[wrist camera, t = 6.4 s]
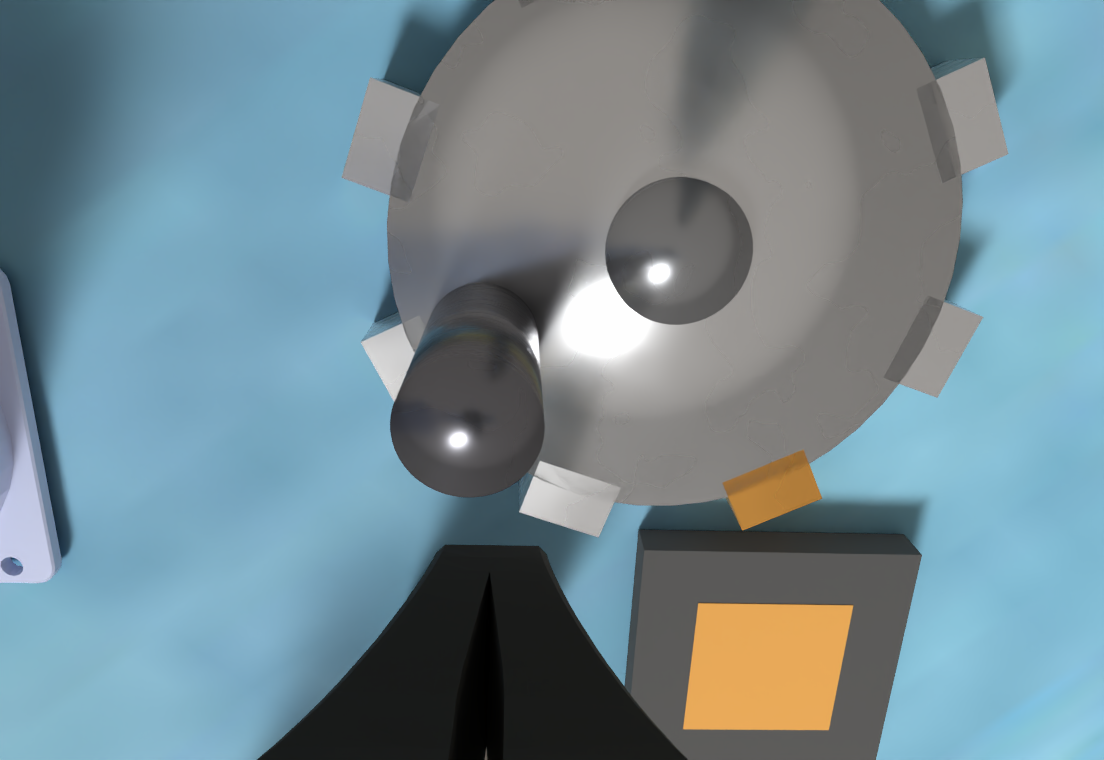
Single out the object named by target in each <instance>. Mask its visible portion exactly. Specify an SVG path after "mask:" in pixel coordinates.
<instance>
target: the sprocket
mask: <svg viewBox="0 0 1104 760" xmlns="http://www.w3.org/2000/svg"><path fill="white" fill-rule="evenodd" d="M1007 154H1008V151H1007V147H1006V143H1005V138H1004V134H1003V130H1002V126H1001V122H1000V118H999V114H998V110H997V105H996V101H995V97H994V93H993V89H992V85H991V81H990V77H989V72H988V68H987V64H986V60H985V58H973V59H962V60H950V61H945V62H943V63H941V64H938V65H936V66H934V67H932V68H930V67H929V65H928V63H927V61H926V59H925V57H924V55H923V54H922V52H921V51H920V49H919V48H918V46H917V45H916V44H915V42H914V41H913V39H912V38H911V37H910V35H909V34H908V32H907V31H906V29H905V28H904V27H903V25H902V24H901V22H900V21H899V20H898V19H897V18H896V17H895V16H894V15H893V14H892V13H891V12H890V11H889V10H888V9H887V8H886V7H885V6H884V5H883V4H882V3H881V1H880V0H495V1H493V2H492V3H491V4H490V5H488V6H487V7H486V8H485V9H484V11H483V12H482V13H481V14H480V15H479V16H478V17H477V18H476V19H475V20H474V21H473V22H472V23H471V24H470V25H469V26H468V27H467V28H466V29H465V30H464V31H463V33H462V34H461V35H460V36H459V37H458V38H457V40H456V41H455V42H454V44H453V45H452V46H451V48H450V49H449V51H448V52H447V53H446V55H445V56H444V58H443V59H442V60H441V62H440V63H439V64H438V66H437V67H436V69H435V70H434V72H433V73H432V75H431V77H430V79H429V81H428V83H427V85H426V86H425V88H424V90H423V92H422V94H420V93H417V92H414V91H412V90H409V89H407V88H404V87H402V86H399V85H397V84H394V83H391V82H389V81H386V80H384V79H378V78H370V80H369V83H368V87H367V90H366V94H365V97H364V101H363V104H362V108H361V112H360V115H359V119H358V122H357V126H356V129H355V133H354V136H353V140H352V143H351V147H350V150H349V154H348V157H347V161H346V164H345V168H344V171H343V175H342V178H344V179H347V180H349V181H352V182H355V183H358V184H360V185H363V186H366V187H368V188H371V189H374V190H377V191H379V192H382V193H385V194H387V195H390V198H389V208H388V218H387V237H388V262H389V268H390V274H391V280H392V286H393V292H394V298H395V301H396V305H397V308H398V311H399V312H397V313H395V314H393V315H391V316H388V317H386V318H384V319H382V320H380V321H378V322H375V323H373V324H372V326H371V327H370V329H369V331H368V332H367V334H366V335H365V337H364V338H363V340H362V341H361V343H362V345H363V347H364V349H365V351H366V352H367V354H368V356H369V358H370V359H371V361H372V363H373V365H374V367H375V368H376V370H377V372H378V374H379V376H380V377H381V379H382V381H383V383H384V384H385V386H386V388H387V390H388V392H389V393H390V395H391V397H392V399H393V400H394V404H393V408H392V412H391V420H390V431H391V437H392V442H393V445H394V448H395V451H396V453H397V455H398V457H399V459H400V460H401V462H402V463H403V465H404V466H405V468H406V469H407V470H408V471H409V472H410V473H411V474H412V475H413V476H414V477H415V478H416V479H417V480H419V481H420V482H422V483H423V484H425V485H426V486H428V487H430V488H432V489H434V490H436V491H438V492H441V493H444V494H448V495H452V496H458V497H480V496H486V495H490V494H494V493H497V492H499V491H502V490H504V489H506V488H508V487H510V486H511V485H513V484H514V483H516V482H517V481H519V480H520V479H521V480H520V482H519V513H523V514H526V515H529V516H532V517H535V518H538V519H542V520H545V521H548V522H551V523H554V524H558V525H561V526H564V527H567V528H570V529H573V530H577V531H580V532H583V533H586V534H589V535H592V536H596V537H599V535H600V533H601V531H602V528H603V526H604V524H605V522H606V519H607V517H608V515H609V513H610V511H611V508H612V506H613V504H614V502H617V503H625V504H632V505H657V506H673V505H682V504H692V503H702V502H708V501H712V500H717V499H721V498H726V499H727V502H728V504H729V505H730V507H731V509H732V511H733V513H734V515H735V517H736V519H737V521H738V523H739V525H740V527H741V529H742V531H743V530H745V529H748V528H750V527H753V526H755V525H758V524H760V523H763V522H765V521H768V520H770V519H773V518H775V517H777V516H780V515H782V514H785V513H787V512H790V511H792V510H795V509H797V508H800V507H802V506H805V505H807V504H810V503H812V502H815V501H817V500H819V499H822V497H821V494H820V492H819V489H818V487H817V484H816V481H815V479H814V476H813V473H812V471H811V468H810V465H809V463H811V462H813V461H814V460H816V459H817V458H819V457H821V456H822V455H824V454H825V453H827V452H829V451H830V450H831V449H833V448H834V447H835V446H837V445H838V444H839V443H840V442H842V441H843V440H844V439H845V438H847V437H848V436H849V435H850V434H852V433H853V432H854V431H855V430H857V429H858V428H859V427H860V426H861V425H862V424H863V423H864V422H865V421H866V420H867V419H868V418H869V417H870V416H871V415H872V414H873V413H874V412H875V411H876V410H877V409H878V408H879V407H880V406H881V405H882V404H883V403H884V402H885V400H886V399H887V398H888V397H889V395H890V394H891V393H892V392H893V390H894V389H895V388H896V387H897V385H898V384H902V385H904V386H907V387H910V388H913V389H915V390H918V391H921V392H923V393H926V394H929V395H931V396H934V397H938V396H939V394H940V392H941V390H942V389H943V387H944V385H945V383H946V382H947V380H948V378H949V376H950V374H951V373H952V371H953V369H954V367H955V366H956V364H957V362H958V360H959V359H960V357H961V355H962V353H963V352H964V350H965V348H966V346H967V344H968V343H969V341H970V339H971V337H972V336H973V334H974V332H975V330H976V329H977V327H978V325H979V323H980V322H981V320H982V318H983V317H982V316H980V315H978V314H976V313H973V312H971V311H969V310H967V309H965V308H963V307H961V306H959V305H957V304H954V303H952V302H950V301H948V300H946V299H945V297H946V294H947V291H948V288H949V285H950V282H951V279H952V276H953V271H954V266H955V261H956V256H957V251H958V246H959V241H960V231H961V217H962V204H963V199H962V181H961V175H962V174H964V173H966V172H969V171H971V170H973V169H975V168H978V167H980V166H982V165H984V164H987V163H989V162H991V161H994V160H996V159H998V158H1000V157H1003V156H1005V155H1007Z"/></svg>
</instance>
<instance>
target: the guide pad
mask: <svg viewBox="0 0 1104 760" xmlns="http://www.w3.org/2000/svg"><path fill="white" fill-rule="evenodd" d="M921 557H922V555H921V554H920V552H919V551H918V550H917V549H916V548H915V547H914V546H913V544H912V543H911V542H910V541H909V540H908V539H907V538H906V536H905V535H904V534H853V533H798V532H743V531H688V530H639V531H638V542H637V553H636V565H635V576H634V587H633V599H632V610H631V621H630V633H629V644H628V655H627V666H626V678H625V688H626V689H627V691H628V692H629V693H630V695H631V696H632V697H633V698H634V700H635V701H636V702H637V703H638V705H639V706H640V707H641V708H642V709H643V711H644V712H645V713H646V714H647V715H648V717H649V718H650V719H651V720H652V721H653V722H654V723H655V725H656V726H657V727H658V728H659V729H660V730H661V731H662V732H663V733H664V735H665V736H666V737H667V738H668V739H669V740H670V741H671V742H672V743H673V744H674V746H675V747H676V748H677V749H678V750H679V751H680V752H681V753H682V754H683V755H684V756H685V757H686V758H687V759H688V760H876V756H877V752H878V747H879V743H880V738H881V734H882V730H883V725H884V721H885V716H886V712H887V707H888V703H889V698H890V694H891V690H892V685H893V681H894V676H895V672H896V667H897V663H898V659H899V654H900V650H901V645H902V641H903V636H904V632H905V627H906V623H907V619H908V614H909V610H910V605H911V601H912V596H913V592H914V588H915V583H916V579H917V574H918V570H919V565H920V561H921Z"/></svg>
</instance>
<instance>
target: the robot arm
mask: <svg viewBox="0 0 1104 760" xmlns="http://www.w3.org/2000/svg"><path fill="white" fill-rule="evenodd" d="M10 557H12V558H16V559H18V560H19V561H20V562H21V563H22V565H23V567H21V566H18V565H16V564H15V563H13V561H12V559H11V558H10ZM61 561H62V559H61V554H60V548H59V543H58V538H57V532H56V527H55V522H54V516H53V511H52V506H51V500H50V495H49V490H48V484H47V479H46V474H45V468H44V463H43V458H42V452H41V447H40V442H39V436H38V431H37V426H36V420H35V415H34V410H33V404H32V399H31V394H30V388H29V383H28V378H27V372H26V367H25V362H24V356H23V351H22V346H21V340H20V335H19V330H18V324H17V319H16V314H15V308H14V303H13V297H12V292H11V287H10V283H9V281H8V278H7V276H6V275H5V274H4V272H3V271H2V270H1V269H0V583H41V582H46V581H48V580H49V579H51V578H52V577H53V576H54V575H55V574H56V573H57V572H58V570H59V569H60V567H61ZM486 748H487V760H688V759H687V758H686V757H685V756H684V755H683V754H682V753H681V752H680V751H679V750H678V749H677V748H676V747H675V746H674V744H673V743H672V742H671V741H670V740H669V739H668V738H667V737H666V736H665V735H664V733H663V732H662V731H661V730H660V729H659V728H658V727H657V726H656V725H655V723H654V722H653V721H652V720H651V719H650V718H649V717H648V715H647V714H646V713H645V712H644V711H643V709H642V708H641V707H640V706H639V705H638V703H637V702H636V701H635V700H634V698H633V697H632V696H631V695H630V693H629V692H628V691H627V689H626V688H625V687H624V685H623V684H622V683H621V681H620V680H619V679H618V677H617V676H616V675H615V673H614V672H613V671H612V669H611V668H610V667H609V665H608V664H607V663H606V661H605V660H604V658H603V657H602V655H601V654H600V652H599V651H598V649H597V648H596V647H595V645H594V643H593V642H592V640H591V639H590V637H589V635H588V634H587V632H586V631H585V629H584V628H583V626H582V624H581V623H580V621H579V620H578V618H577V616H576V615H575V613H574V611H573V610H572V608H571V606H570V604H569V603H568V601H567V599H566V597H565V595H564V593H563V591H562V589H561V588H560V586H559V584H558V581H557V579H556V577H555V575H554V573H553V571H552V568H551V566H550V563H549V561H548V558H547V554H546V553H545V552H544V551H543V550H542V549H541V548H540V547H539V546H500V545H444V546H443V547H442V548H441V549H440V550H439V551H438V552H437V553H436V554H435V556H434V558H433V560H432V562H431V564H430V565H429V567H428V569H427V570H426V572H425V573H424V575H423V577H422V578H421V580H420V581H419V583H418V584H417V586H416V587H415V589H414V590H413V591H412V593H411V594H410V596H409V597H408V599H407V600H406V601H405V603H404V604H403V605H402V607H401V608H400V609H399V611H398V612H397V613H396V615H395V616H394V617H393V619H392V620H391V621H390V622H389V624H388V625H387V626H386V628H385V629H384V630H383V632H382V633H381V634H380V636H379V637H378V638H377V639H376V640H375V642H374V643H373V644H372V645H371V646H370V648H369V649H368V650H367V651H366V652H365V653H364V654H363V655H362V657H361V658H360V659H359V660H358V661H357V662H356V663H355V665H354V666H353V667H352V668H351V669H350V670H349V671H348V673H347V674H346V675H345V676H344V677H343V678H342V679H341V680H340V682H339V683H338V684H337V685H336V686H335V687H334V688H333V689H332V690H331V691H330V692H329V693H328V694H327V695H326V696H325V697H324V698H323V699H322V700H321V701H320V702H319V703H318V704H317V705H316V706H315V707H314V708H313V709H312V710H311V711H310V712H309V713H308V714H307V715H306V716H305V717H304V718H303V719H302V720H301V721H300V722H299V723H298V724H297V725H296V726H295V727H293V728H292V729H291V730H290V731H289V732H288V733H287V734H286V735H285V736H284V737H283V738H282V739H281V740H279V741H278V742H277V743H276V744H275V745H274V746H273V747H271V748H270V749H269V750H268V751H267V752H266V753H264V754H263V755H262V756H261V757H260V758H258V759H257V760H485V754H486Z"/></svg>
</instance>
